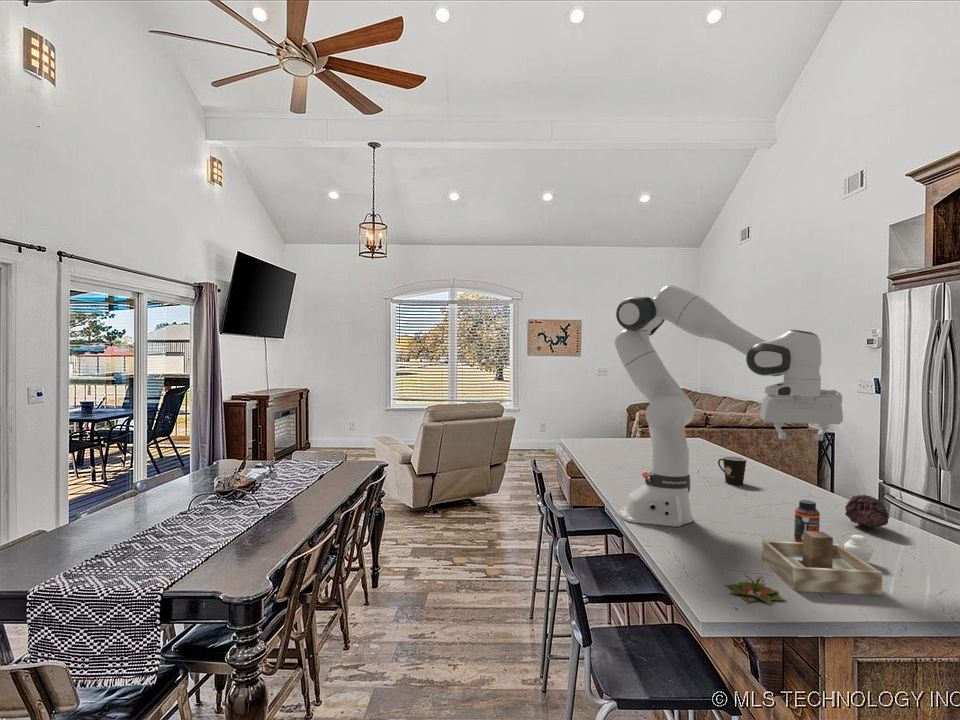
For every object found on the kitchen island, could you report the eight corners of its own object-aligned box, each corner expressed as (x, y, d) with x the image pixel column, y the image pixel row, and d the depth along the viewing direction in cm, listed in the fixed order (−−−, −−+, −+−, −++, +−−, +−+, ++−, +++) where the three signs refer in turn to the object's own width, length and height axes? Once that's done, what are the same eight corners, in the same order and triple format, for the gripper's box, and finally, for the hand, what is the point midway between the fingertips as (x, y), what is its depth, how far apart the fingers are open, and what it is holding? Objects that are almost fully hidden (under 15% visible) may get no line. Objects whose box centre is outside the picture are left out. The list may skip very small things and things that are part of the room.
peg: (811, 580, 128) (812, 537, 128) (802, 572, 133) (803, 530, 133) (832, 581, 128) (833, 538, 128) (822, 573, 132) (823, 531, 132)
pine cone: (902, 539, 157) (902, 504, 157) (863, 537, 159) (863, 502, 159) (869, 520, 175) (870, 489, 174) (835, 518, 176) (835, 487, 176)
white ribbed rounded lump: (845, 555, 144) (845, 528, 144) (874, 561, 140) (874, 534, 140) (842, 562, 139) (842, 534, 139) (872, 568, 135) (872, 540, 135)
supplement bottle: (810, 547, 150) (811, 505, 150) (789, 540, 156) (790, 500, 155) (823, 543, 153) (824, 502, 153) (802, 537, 158) (803, 497, 158)
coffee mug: (750, 486, 219) (750, 460, 218) (728, 485, 219) (728, 460, 219) (736, 479, 230) (737, 455, 230) (715, 478, 230) (716, 455, 230)
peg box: (794, 590, 122) (795, 568, 122) (761, 560, 140) (762, 540, 140) (881, 595, 121) (882, 572, 120) (837, 563, 138) (837, 543, 138)
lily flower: (798, 607, 116) (799, 585, 116) (743, 609, 115) (744, 587, 114) (764, 583, 128) (764, 563, 127) (714, 584, 126) (714, 564, 126)
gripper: (835, 389, 154) (834, 438, 154) (758, 387, 156) (757, 436, 156) (848, 390, 147) (847, 442, 148) (767, 389, 150) (766, 440, 150)
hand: (800, 439), depth 152 cm, fingers open, 8 cm apart
